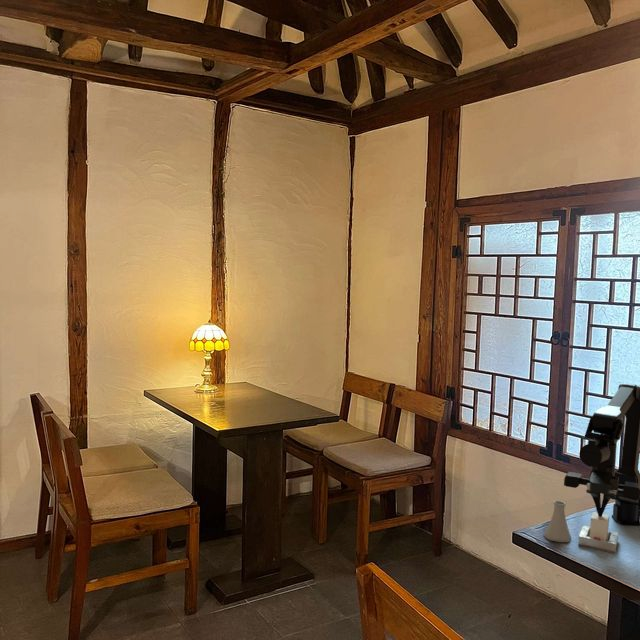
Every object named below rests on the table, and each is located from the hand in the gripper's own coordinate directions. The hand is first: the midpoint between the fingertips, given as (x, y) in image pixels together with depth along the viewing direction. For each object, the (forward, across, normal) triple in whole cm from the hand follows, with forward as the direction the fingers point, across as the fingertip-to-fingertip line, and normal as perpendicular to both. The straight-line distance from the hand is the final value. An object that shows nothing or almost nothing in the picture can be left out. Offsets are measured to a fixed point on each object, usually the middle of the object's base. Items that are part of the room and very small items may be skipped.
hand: (600, 515), depth 174 cm
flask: (+8, -10, -2) cm, 13 cm away
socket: (+8, 0, 0) cm, 8 cm away
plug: (+7, 0, 0) cm, 7 cm away
